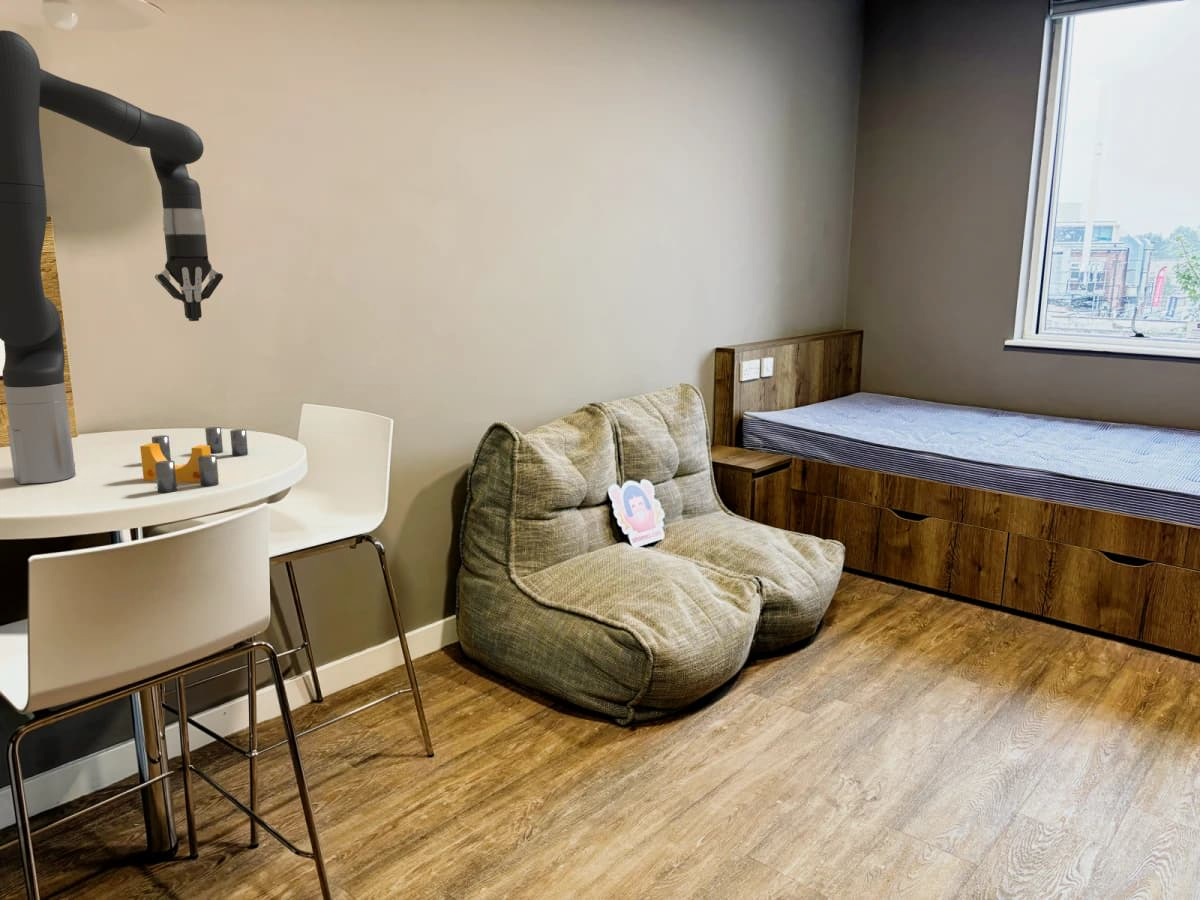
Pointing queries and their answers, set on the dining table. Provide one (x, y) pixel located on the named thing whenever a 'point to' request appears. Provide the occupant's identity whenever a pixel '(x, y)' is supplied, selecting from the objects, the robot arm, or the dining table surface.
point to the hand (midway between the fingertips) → (194, 320)
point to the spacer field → (206, 462)
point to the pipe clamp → (183, 473)
